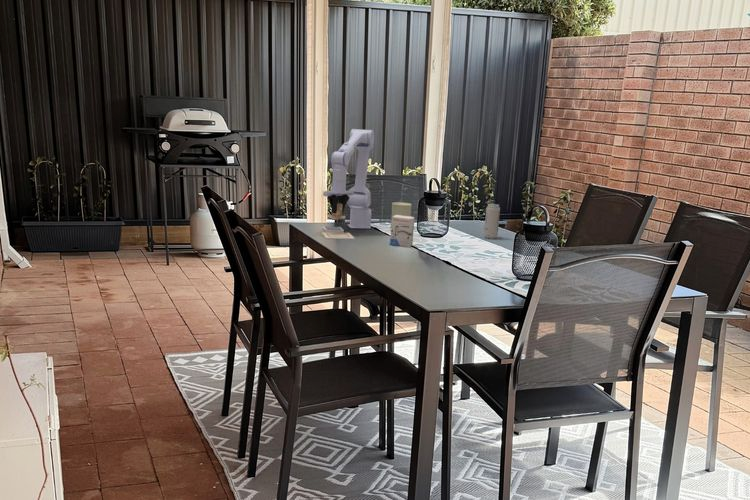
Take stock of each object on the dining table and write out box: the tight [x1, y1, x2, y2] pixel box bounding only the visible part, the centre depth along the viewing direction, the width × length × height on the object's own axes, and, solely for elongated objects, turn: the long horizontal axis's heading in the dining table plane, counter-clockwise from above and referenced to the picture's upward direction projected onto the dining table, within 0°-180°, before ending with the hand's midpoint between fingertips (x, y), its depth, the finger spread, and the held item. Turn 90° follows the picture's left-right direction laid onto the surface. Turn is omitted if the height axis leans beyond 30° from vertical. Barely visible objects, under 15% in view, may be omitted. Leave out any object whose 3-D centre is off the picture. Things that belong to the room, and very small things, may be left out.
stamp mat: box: [321, 231, 356, 240], centre depth 284 cm, size 12×12×1 cm
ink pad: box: [322, 226, 345, 233], centre depth 296 cm, size 8×8×1 cm
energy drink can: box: [483, 203, 501, 240], centre depth 299 cm, size 6×6×15 cm
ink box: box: [389, 215, 415, 248], centre depth 271 cm, size 9×5×12 cm, turn 73°
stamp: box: [328, 202, 346, 221], centre depth 285 cm, size 5×5×7 cm
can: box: [390, 201, 413, 229], centre depth 311 cm, size 9×9×12 cm
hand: (337, 212), depth 284 cm, fingers closed on stamp, 3 cm apart
